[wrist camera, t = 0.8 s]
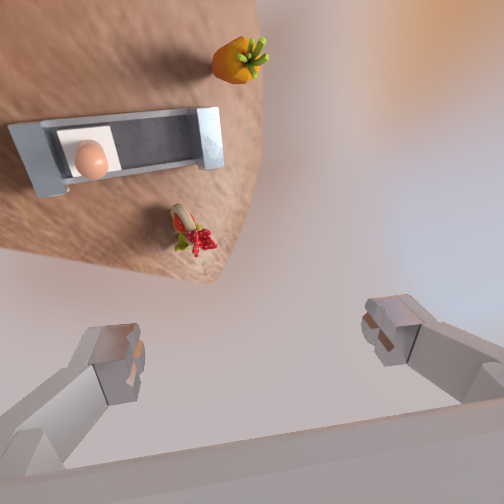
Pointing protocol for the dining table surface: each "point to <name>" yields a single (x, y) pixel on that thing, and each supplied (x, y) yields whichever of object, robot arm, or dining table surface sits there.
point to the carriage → (89, 151)
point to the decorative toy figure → (190, 231)
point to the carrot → (239, 60)
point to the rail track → (122, 144)
